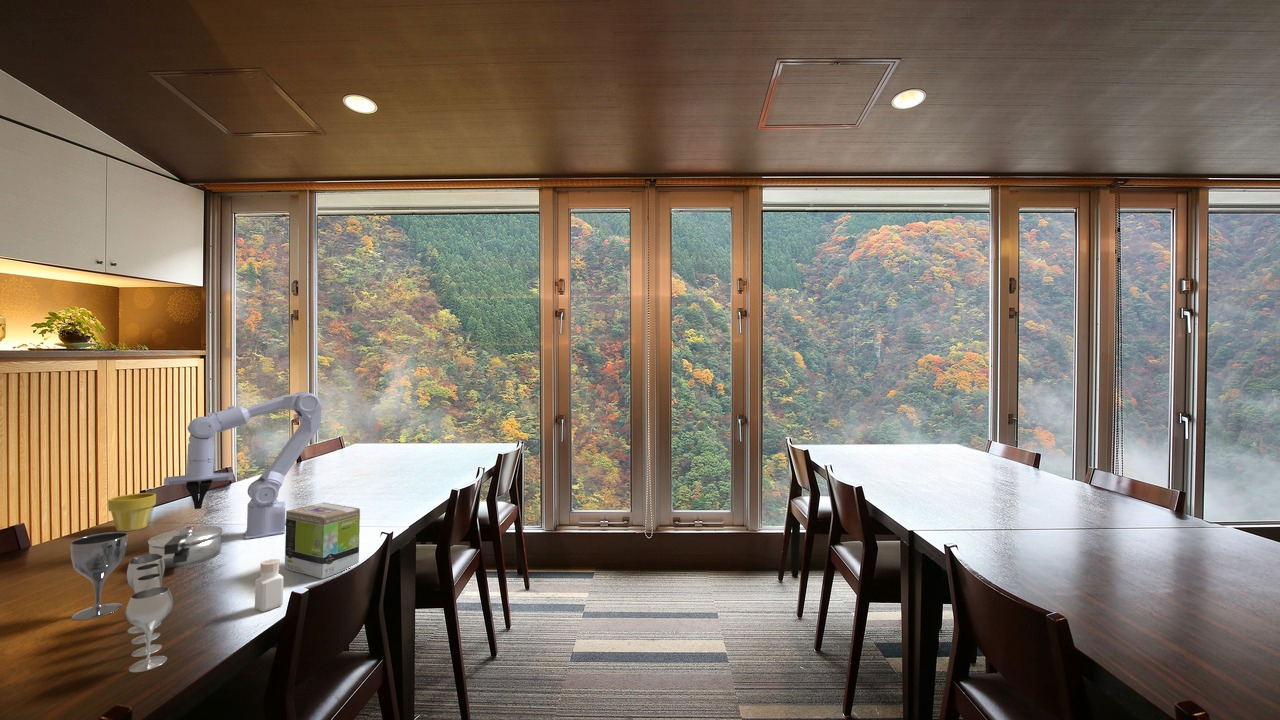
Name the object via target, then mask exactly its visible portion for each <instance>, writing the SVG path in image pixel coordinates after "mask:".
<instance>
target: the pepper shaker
mask: <svg viewBox="0 0 1280 720" xmlns="http://www.w3.org/2000/svg"><path fill="white" fill-rule="evenodd" d="M259 566H260V568H259V570H260V571H259V572H260V576H259V577H258V578H256V579H255V581H254V582H255V586H254V587H255V589H254V608H255V609H256V610H259V611H260V612H261V613H262V612H264V613H265V612H267V611H268V612H269V611H270V610H272V609H276V608H279V607H281V606H283V605H284V576H283V575H282V574H280V573H279V570H280V559H278V558H270V559H266V560H263V561H261V562H260V565H259Z"/></svg>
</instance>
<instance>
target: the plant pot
mask: <svg viewBox="0 0 1280 720" xmlns="http://www.w3.org/2000/svg"><path fill="white" fill-rule="evenodd" d="M156 502H157V493H154V492H141V493H131V494H123V495H118V496H114V497H111V498H109V499H108V501H107V507H108V508H107V510H108V512H111V515H112V520H113V523H114V527H115V530H116V532H131V531H136V530H141V529H144V528H146V527H147V526H148V524H149V519H150V517H151V513H152V509H153V507H154V506H155V505H156Z"/></svg>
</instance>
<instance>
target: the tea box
mask: <svg viewBox="0 0 1280 720" xmlns="http://www.w3.org/2000/svg"><path fill="white" fill-rule="evenodd" d="M285 520H286V526H285V543H284V548H285V549H284V569H286V570H289V571H292V572H297V573H301V574H304V575H308V576H311V577H315V578H318V579H322V580H323V579H326V578H329V577H331V576H334V574H335V575H337V573H338V574H340V573H342V572H341V571H343V570H345V569H347V568H349V567H351V566H353V565H355V564H357V563H359V561H360V530H361V529H360V528H361V526H360V523H361V521H360V520H361V508H359V507H354V506H348V505H347V506H346V505H341V504H335V503H330V502H320V503H315V504H310V505H307V506H301V507H297V508H293V509H289V510H285ZM339 572H340V573H339ZM343 572H344V571H343Z"/></svg>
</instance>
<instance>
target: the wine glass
mask: <svg viewBox="0 0 1280 720" xmlns="http://www.w3.org/2000/svg"><path fill="white" fill-rule="evenodd" d="M127 547H128V532H127V531H108V532H102V533H101V532H100V533H94V534H90V535H86V536H82V537H78V538H77V539H74V540H72V541H71V542H70V559H71V563H72V567H73V569H74V570H75V571H76V572H77V573H78V574H80V575H82V576H83V577H85V578H86V579H88V580H89V581H90V582H91V583H92V585H93V588H94V593H95V594H94V595H95V596H94V597H95V598H94V599H95V601H94V605H93V606H90V607H87V608H85V609H82V610H80V611H77V612H76V613H74V614H73V615H72V616H71V619H72V620H74V621H85V620H86V621H87V620H92V619H97V618H101V617H105V616H108V615H111V614H112V612H113V613H115V612H117V611H119V610H120V609H119V608H121V607H122V608H123V606H124V605H123V604H122V603H119V602H110V603H103V604H102V591H103V586H104V582H105V581H106V580H107V578H108V577H109V575H111V573H112V572H113V571H114V570H115V569H117V568H118V566H120V564H121V563H122V562H123V560H124V557H125V554H126V552H127V551H126V550H127ZM122 608H121V609H122ZM118 609H119V610H118ZM114 611H115V612H114ZM110 613H111V614H110Z"/></svg>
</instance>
